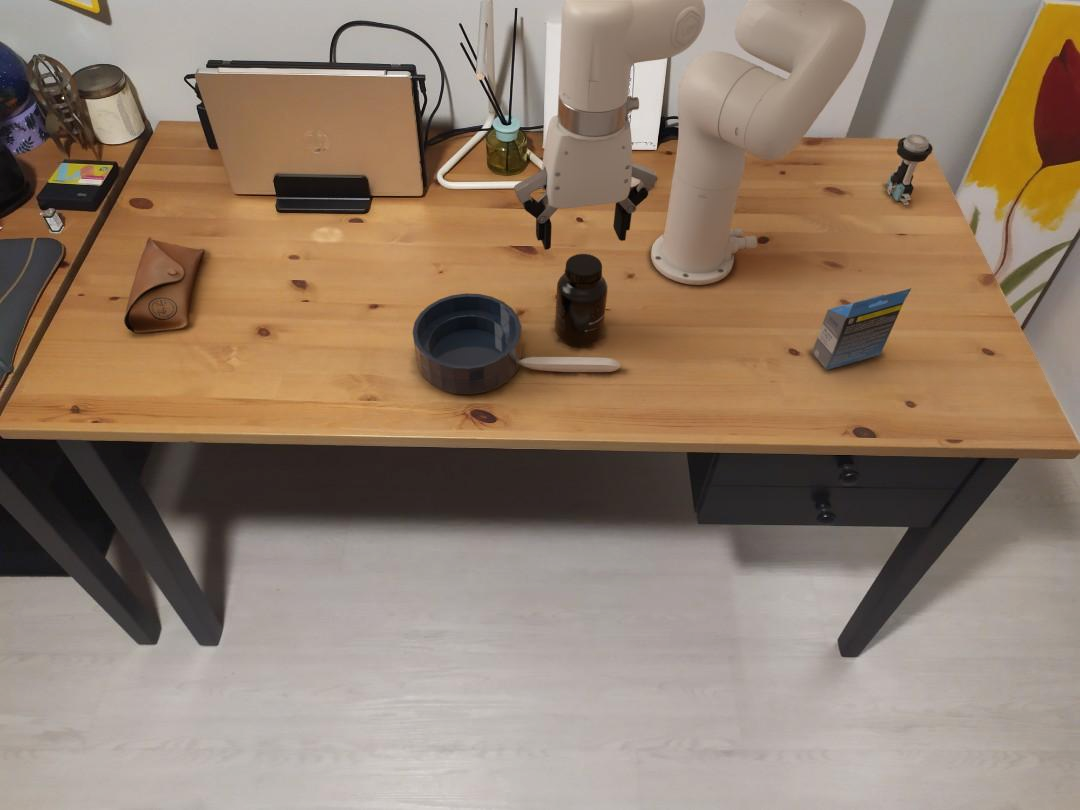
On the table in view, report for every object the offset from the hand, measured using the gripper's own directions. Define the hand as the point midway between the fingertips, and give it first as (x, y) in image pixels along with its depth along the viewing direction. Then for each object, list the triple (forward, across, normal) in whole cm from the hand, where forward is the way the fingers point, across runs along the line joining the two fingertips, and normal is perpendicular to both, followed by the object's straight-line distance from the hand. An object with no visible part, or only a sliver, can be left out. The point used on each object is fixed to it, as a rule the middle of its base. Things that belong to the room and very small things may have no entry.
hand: (582, 238), depth 102 cm
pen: (+12, +2, -2) cm, 13 cm away
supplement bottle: (+16, -1, 0) cm, 17 cm away
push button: (+16, -62, -21) cm, 67 cm away
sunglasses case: (+17, +56, -21) cm, 63 cm away
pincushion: (+16, -16, -34) cm, 41 cm away
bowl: (+17, +15, +2) cm, 23 cm away
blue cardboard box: (+16, -36, +12) cm, 41 cm away
